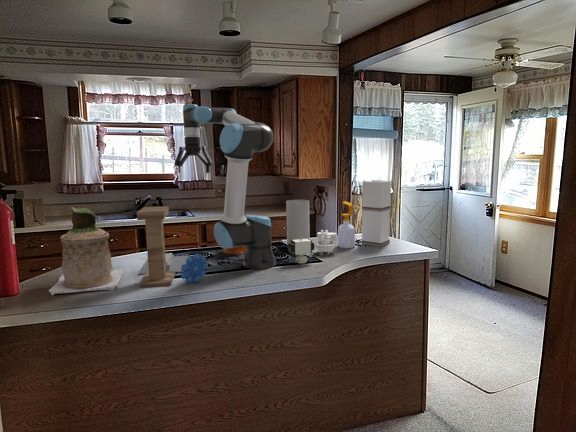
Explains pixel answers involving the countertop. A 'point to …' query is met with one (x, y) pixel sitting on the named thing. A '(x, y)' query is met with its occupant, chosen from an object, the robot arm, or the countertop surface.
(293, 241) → the pneumatic valve
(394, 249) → the countertop surface
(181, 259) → the rubber mat
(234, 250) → the ceramic vessel
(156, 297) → the countertop surface
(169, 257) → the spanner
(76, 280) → the cookie jar
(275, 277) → the countertop surface
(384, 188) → the white lidded square box
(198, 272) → the grapes
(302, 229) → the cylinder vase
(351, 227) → the soap bottle
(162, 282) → the stand
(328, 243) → the mechanical part
